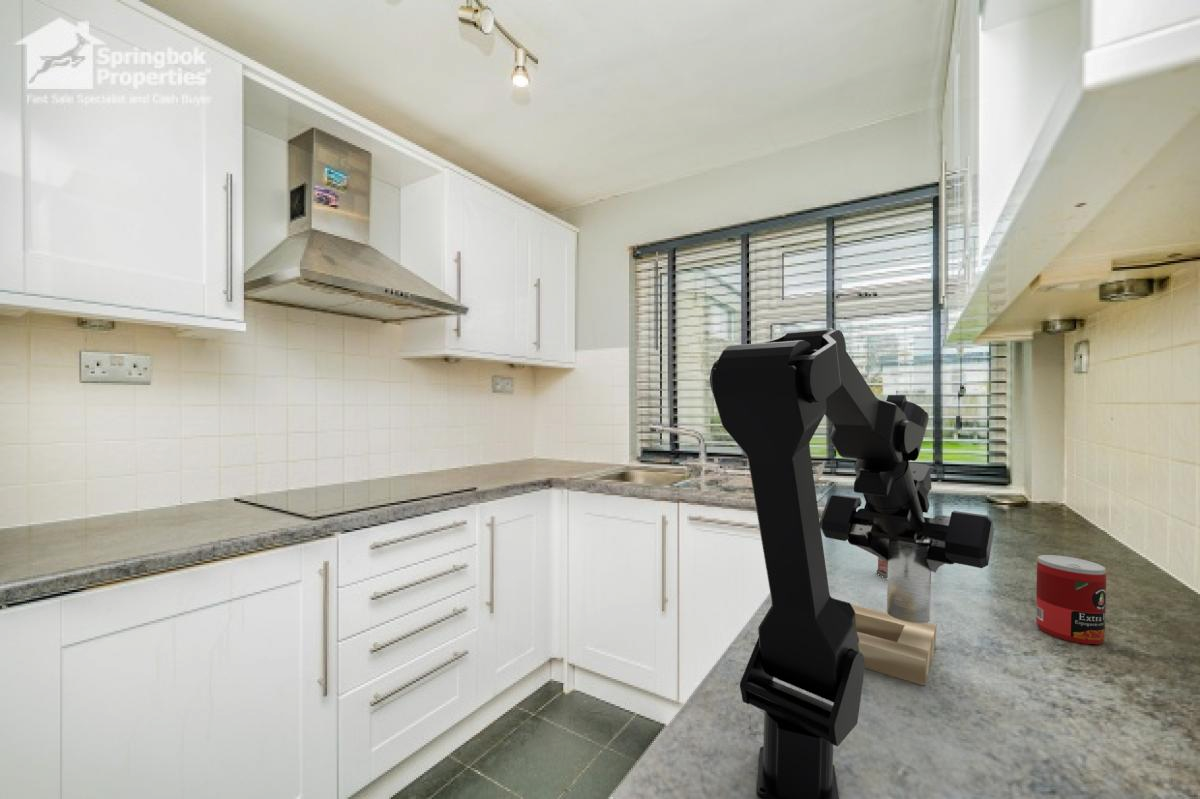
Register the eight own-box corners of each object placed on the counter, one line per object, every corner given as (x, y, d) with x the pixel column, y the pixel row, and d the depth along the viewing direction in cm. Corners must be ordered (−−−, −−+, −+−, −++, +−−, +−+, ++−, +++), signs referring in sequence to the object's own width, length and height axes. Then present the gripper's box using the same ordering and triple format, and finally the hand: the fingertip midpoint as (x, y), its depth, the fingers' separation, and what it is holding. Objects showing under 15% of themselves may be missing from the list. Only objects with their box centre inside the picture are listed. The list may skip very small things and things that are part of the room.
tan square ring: (925, 686, 62) (925, 661, 62) (805, 649, 71) (805, 627, 71) (936, 645, 74) (936, 624, 74) (831, 618, 82) (831, 599, 82)
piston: (939, 624, 67) (941, 531, 67) (898, 622, 67) (900, 529, 67) (917, 609, 72) (919, 522, 72) (878, 607, 72) (880, 520, 72)
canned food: (1082, 648, 74) (1083, 571, 74) (1023, 625, 82) (1024, 555, 82) (1118, 643, 76) (1119, 568, 76) (1057, 621, 84) (1058, 553, 84)
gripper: (993, 448, 60) (1005, 529, 68) (829, 437, 73) (855, 506, 81) (979, 524, 55) (994, 604, 62) (804, 498, 68) (834, 566, 75)
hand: (911, 564), depth 70 cm, fingers closed on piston, 5 cm apart
